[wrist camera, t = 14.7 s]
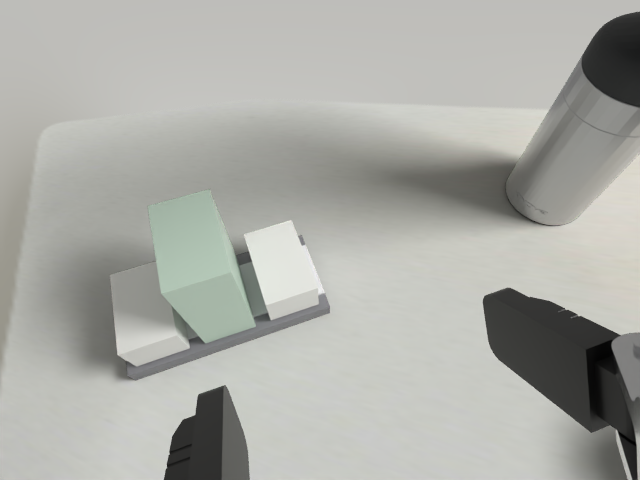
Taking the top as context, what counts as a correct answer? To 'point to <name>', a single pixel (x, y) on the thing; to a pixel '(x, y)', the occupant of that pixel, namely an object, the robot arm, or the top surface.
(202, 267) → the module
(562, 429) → the top surface
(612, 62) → the robot arm
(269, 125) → the top surface
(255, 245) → the board
